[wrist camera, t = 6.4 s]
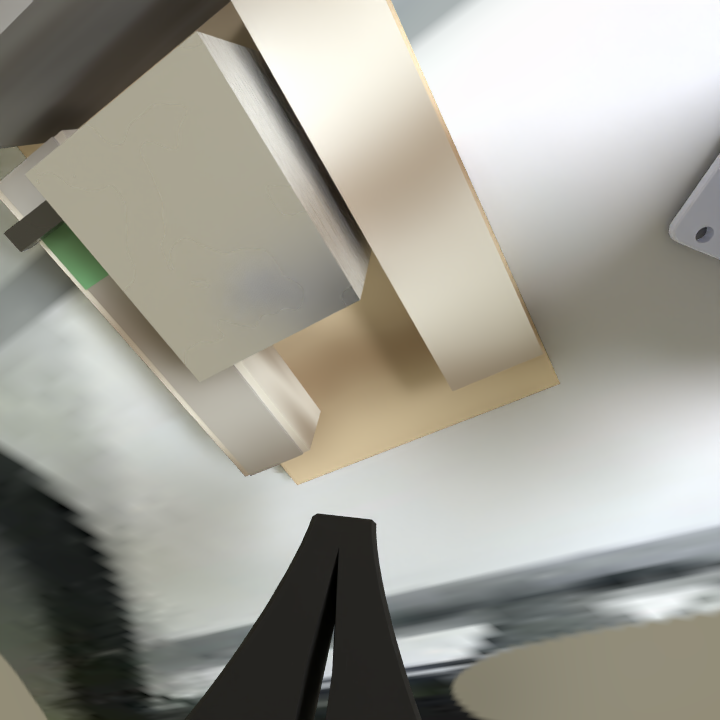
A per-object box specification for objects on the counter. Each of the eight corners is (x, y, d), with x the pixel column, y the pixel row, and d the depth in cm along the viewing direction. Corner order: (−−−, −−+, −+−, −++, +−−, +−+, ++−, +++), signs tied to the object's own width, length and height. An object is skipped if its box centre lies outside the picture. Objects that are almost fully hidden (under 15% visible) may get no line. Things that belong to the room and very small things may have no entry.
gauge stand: (551, 367, 18) (626, 506, 12) (302, 466, 22) (261, 612, 16) (253, -305, 11) (28, -896, 4) (-53, 25, 14) (-410, -33, 8)
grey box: (373, 242, 15) (360, 299, 11) (187, 345, 18) (116, 424, 13) (267, 54, 13) (196, 30, 8) (71, 203, 15) (-60, 244, 11)
